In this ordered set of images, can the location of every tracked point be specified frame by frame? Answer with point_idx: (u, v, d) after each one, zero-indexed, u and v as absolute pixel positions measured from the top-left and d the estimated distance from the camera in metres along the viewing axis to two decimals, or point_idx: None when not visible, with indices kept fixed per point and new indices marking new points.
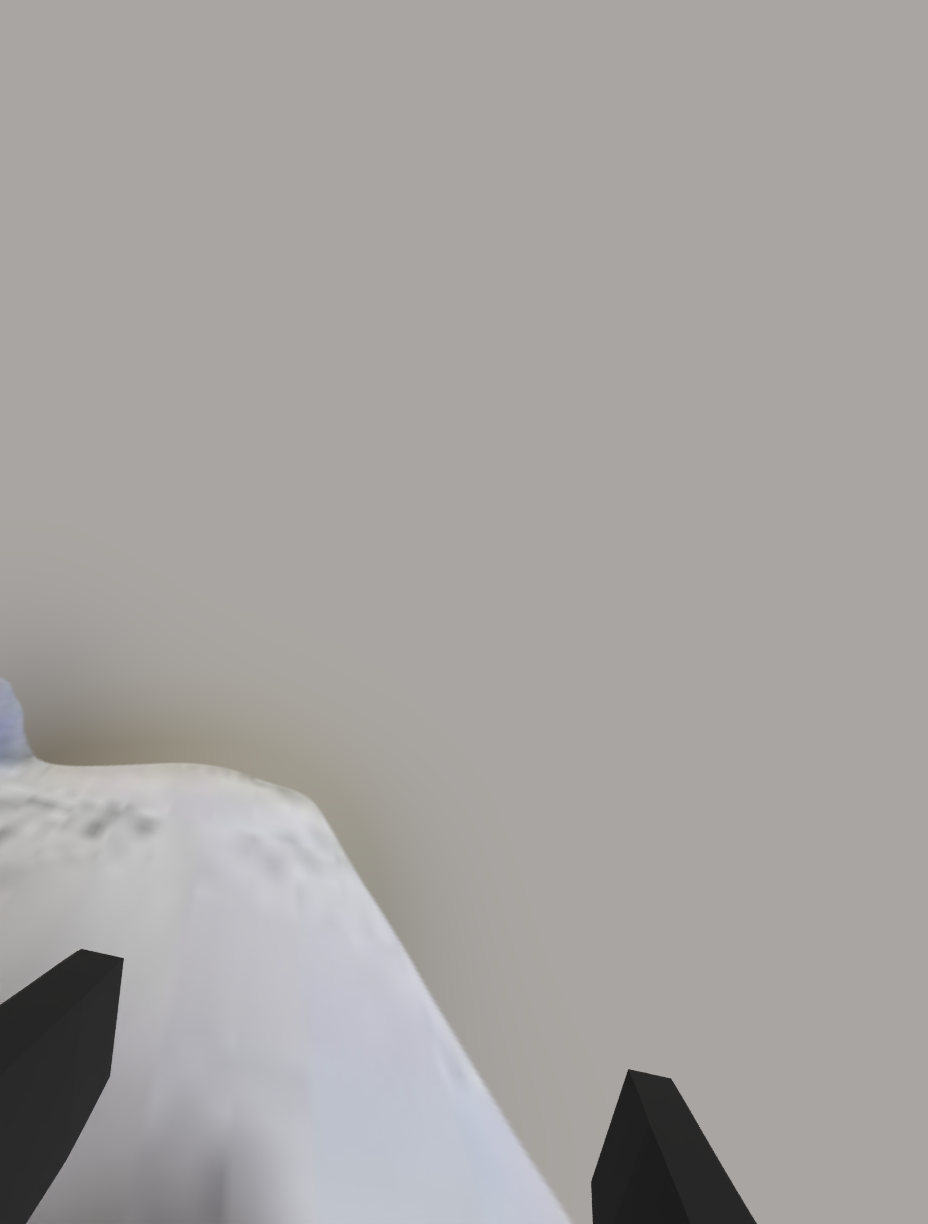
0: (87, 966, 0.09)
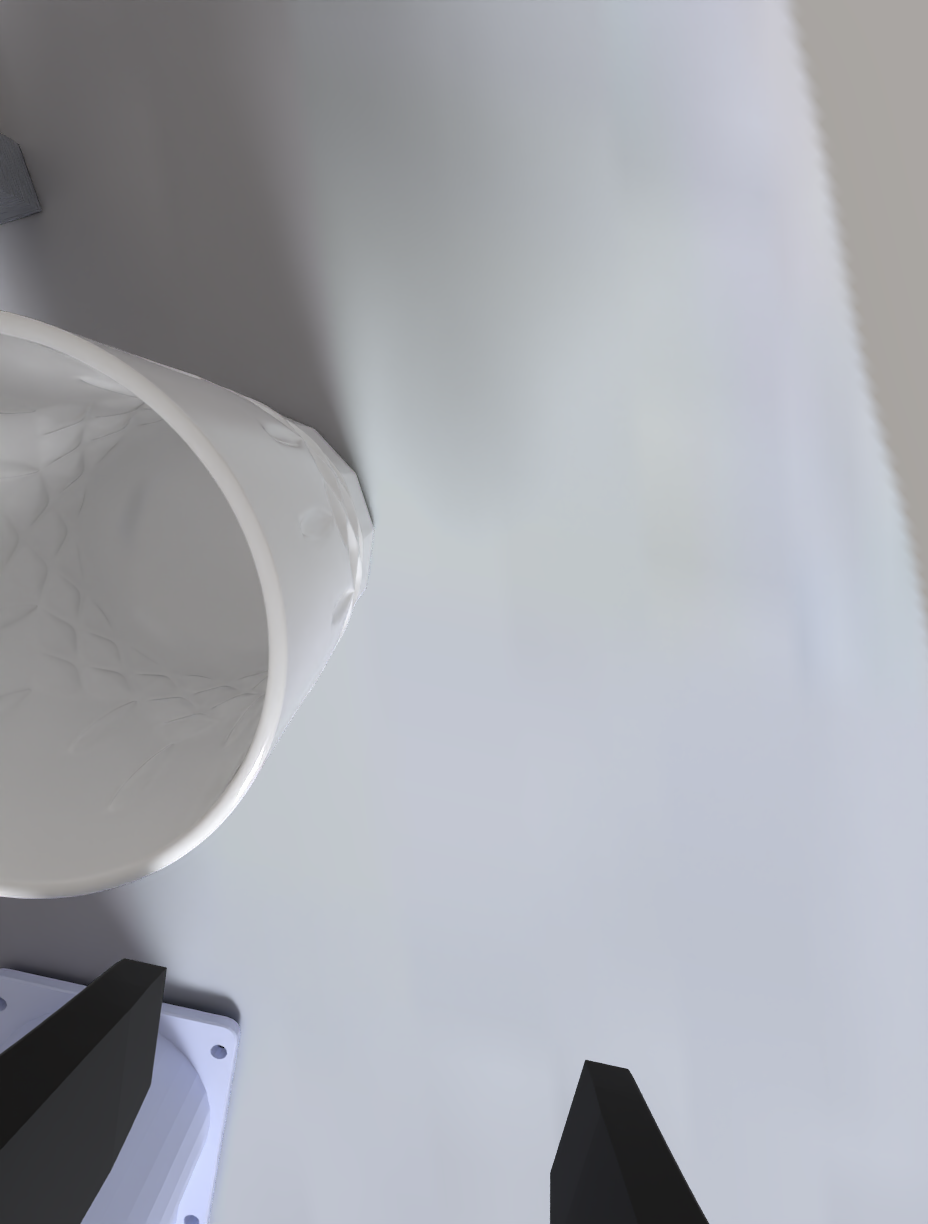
0: (132, 976, 0.09)
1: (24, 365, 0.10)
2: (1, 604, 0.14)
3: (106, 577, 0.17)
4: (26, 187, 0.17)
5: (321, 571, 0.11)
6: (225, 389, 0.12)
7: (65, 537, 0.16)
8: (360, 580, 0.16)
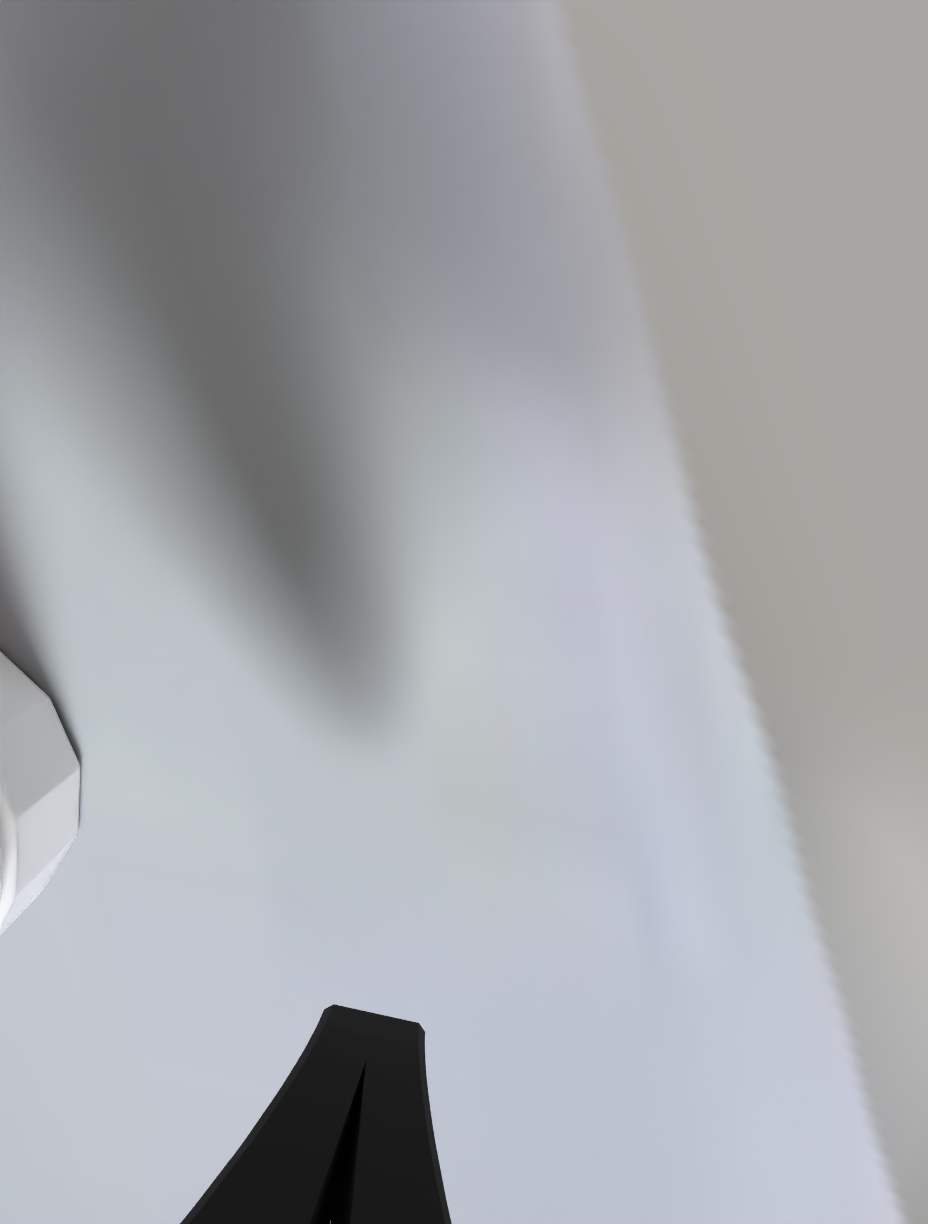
0: (351, 1024, 0.09)
1: None
2: None
3: None
4: None
5: None
6: None
7: None
8: None
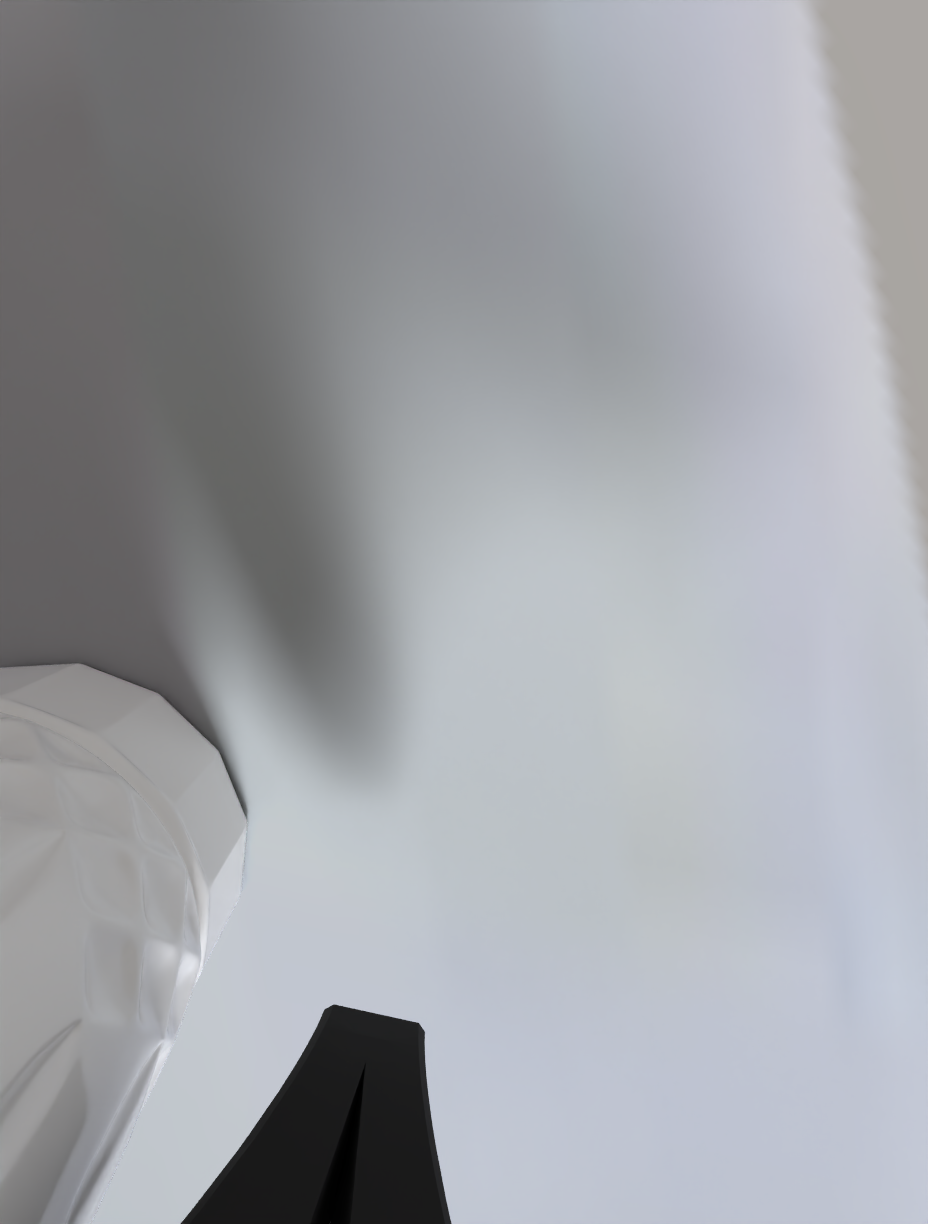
0: (352, 1024, 0.09)
1: None
2: None
3: None
4: None
5: None
6: None
7: None
8: (196, 969, 0.11)
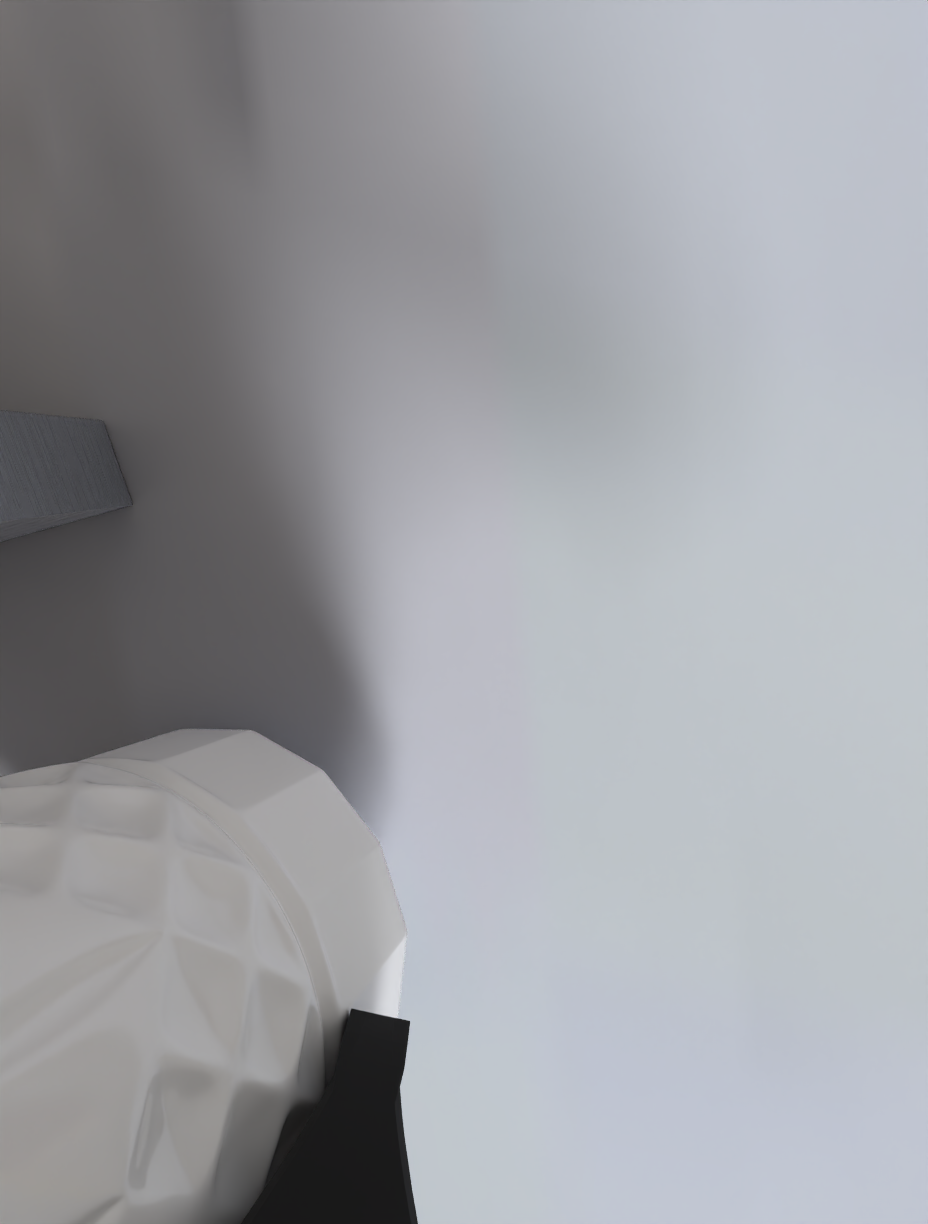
0: (386, 1032, 0.09)
1: None
2: None
3: None
4: (114, 482, 0.12)
5: None
6: None
7: None
8: None
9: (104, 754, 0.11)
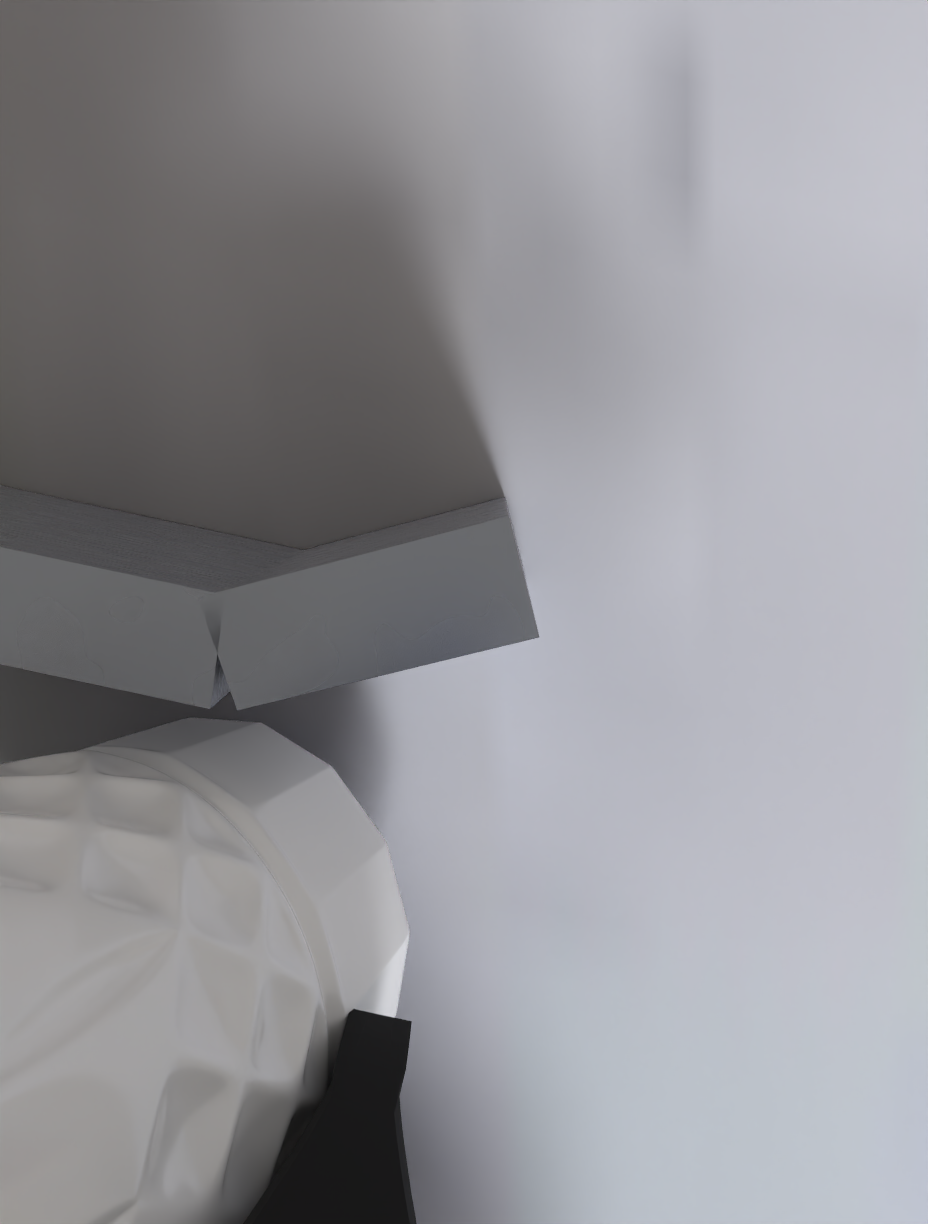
0: (388, 1032, 0.09)
1: None
2: None
3: None
4: None
5: None
6: None
7: None
8: None
9: (112, 742, 0.11)
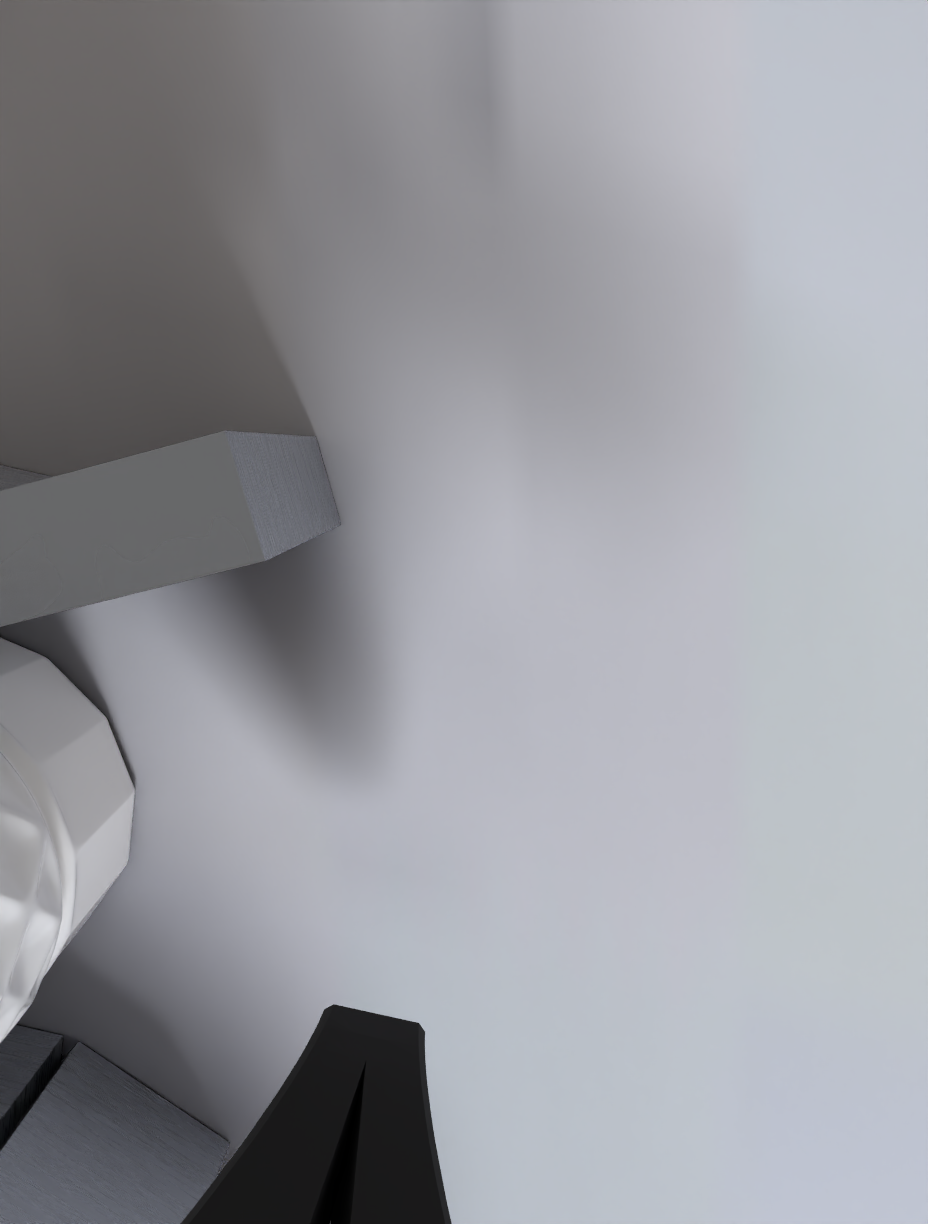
0: (351, 1025, 0.09)
1: None
2: None
3: None
4: (329, 501, 0.12)
5: None
6: None
7: None
8: (54, 930, 0.11)
9: None
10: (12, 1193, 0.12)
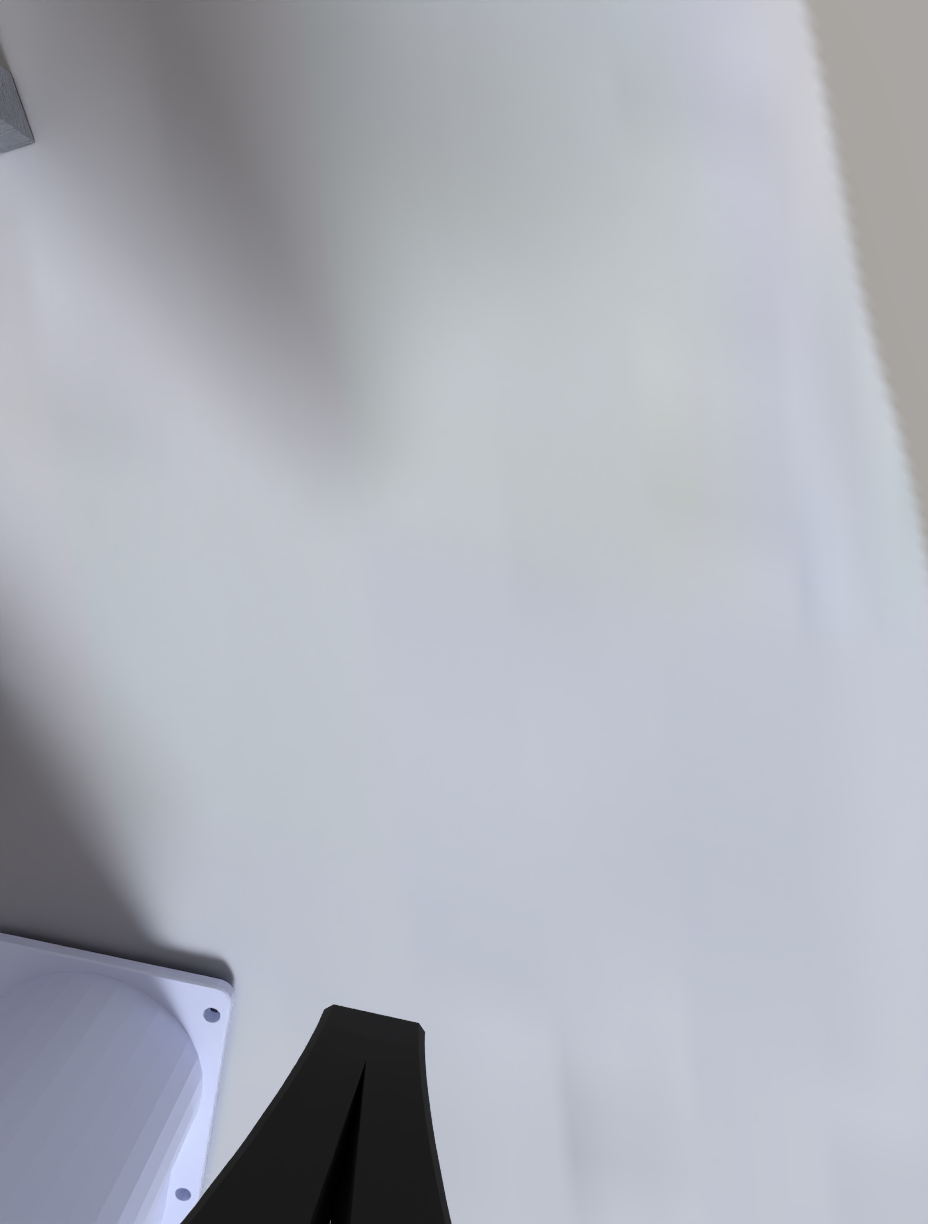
0: (351, 1025, 0.09)
1: None
2: None
3: None
4: (18, 116, 0.16)
5: None
6: None
7: None
8: None
9: None
10: None
